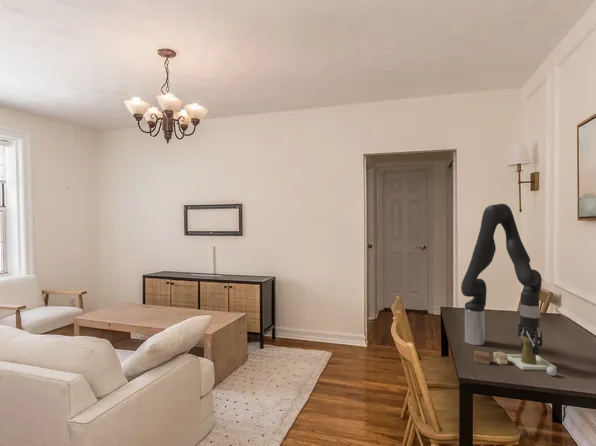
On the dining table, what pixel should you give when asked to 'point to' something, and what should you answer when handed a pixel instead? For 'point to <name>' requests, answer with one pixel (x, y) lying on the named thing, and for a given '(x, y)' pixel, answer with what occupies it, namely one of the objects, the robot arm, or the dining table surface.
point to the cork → (528, 352)
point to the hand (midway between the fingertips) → (529, 351)
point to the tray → (540, 364)
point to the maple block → (500, 358)
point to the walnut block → (481, 357)
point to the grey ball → (551, 371)
